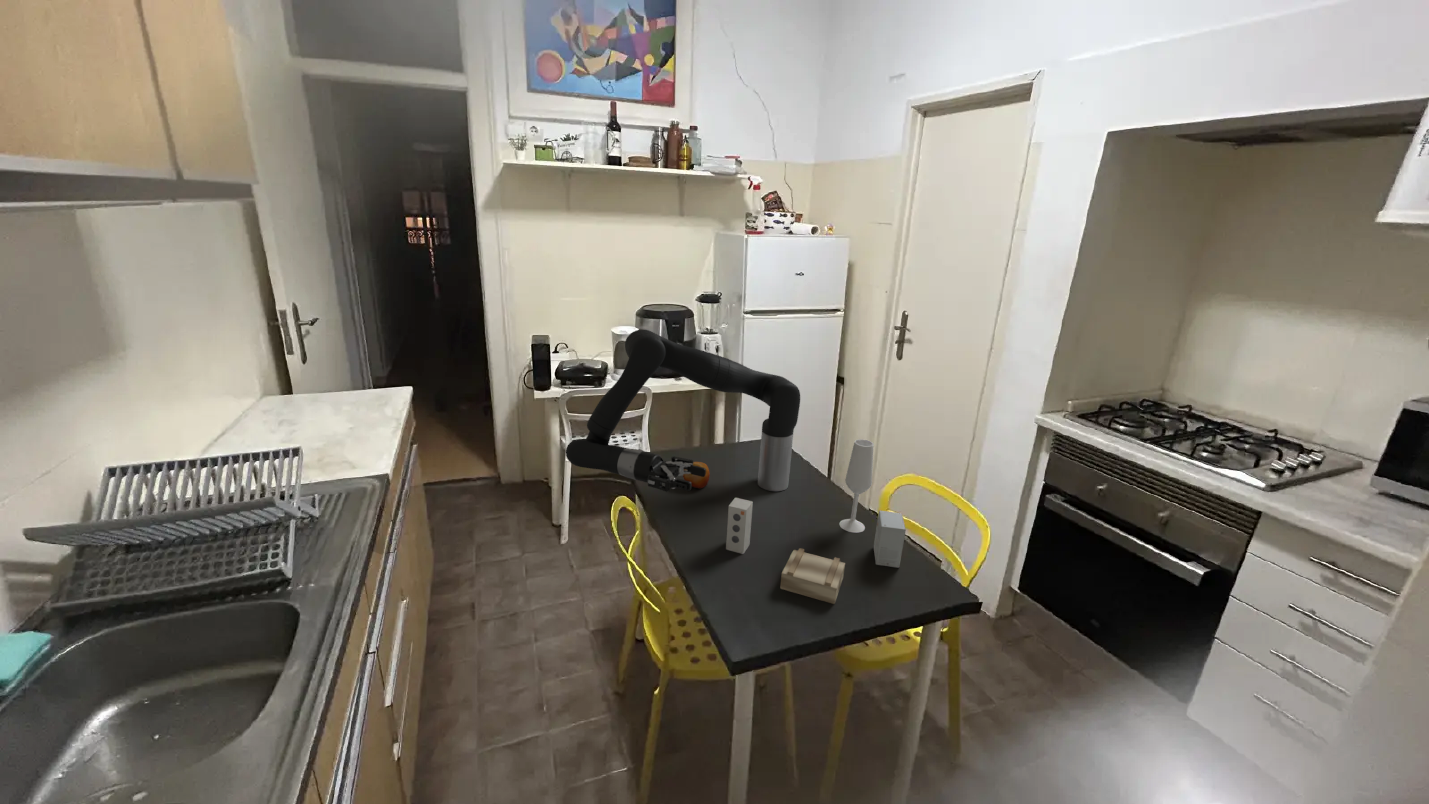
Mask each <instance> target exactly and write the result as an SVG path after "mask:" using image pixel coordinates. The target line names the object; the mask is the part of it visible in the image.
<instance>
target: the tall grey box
mask: <svg viewBox="0 0 1429 804" xmlns="http://www.w3.org/2000/svg"><path fill="white" fill-rule="evenodd" d="M753 503H754V502H753V501H752V500H747V499H743V498H739V497H734V499H733V500H732V501H731V502H730V504H729V505H728V510H727V511H728V512H727V513H728V514H727V527H726V542H725V550H727V551H731V552H734V553H737V554H741V555H744V554H745V552H746V550H748V548H749V546H750V544H751V542H750V541H751V531H752V529H751V528H752V517H753V505H754V504H753Z"/></svg>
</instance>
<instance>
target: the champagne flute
mask: <svg viewBox="0 0 1429 804" xmlns="http://www.w3.org/2000/svg"><path fill="white" fill-rule="evenodd" d="M874 447H875V445H874V442H872V441H871V440H868V439H864V438H862V439H861V438H859V439H855V440H854V443H853V446H852V451H851V454H850V459H849V461H848V462H849V463H848V467H847V471H846V474H845V475H846V476H845V478H844V480H845V481H844V482H845V485H846V486H847V488H848V489H849V490H850V491H851V492H852V493H853V501H852V507H851V515H850V518H846V519H845V518H844V519H842V520H840V522H839V526H840V529H843V530H844V531H846V532H849V533H857V534H858V533H862V532H864V531H865V529H866V527H865V524H864V523H862V522H861V521H858V520H857V519H856V518H857V512H858V511H857V509H858V504H859V495H861V494H863V493H865V492H867V491H868V490H869V489H870V488H871V487H872V484H873V463H874Z"/></svg>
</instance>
